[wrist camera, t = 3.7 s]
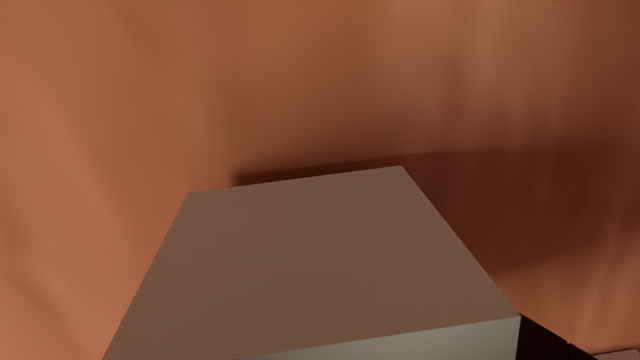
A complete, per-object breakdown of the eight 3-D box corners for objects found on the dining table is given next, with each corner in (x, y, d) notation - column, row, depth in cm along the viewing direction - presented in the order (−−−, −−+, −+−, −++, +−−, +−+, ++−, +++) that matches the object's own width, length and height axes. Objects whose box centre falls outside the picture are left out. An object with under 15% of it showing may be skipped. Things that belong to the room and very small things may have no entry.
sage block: (401, 165, 9) (521, 316, 5) (404, 326, 11) (489, 543, 7) (187, 192, 9) (91, 380, 4) (230, 352, 11) (193, 595, 6)
